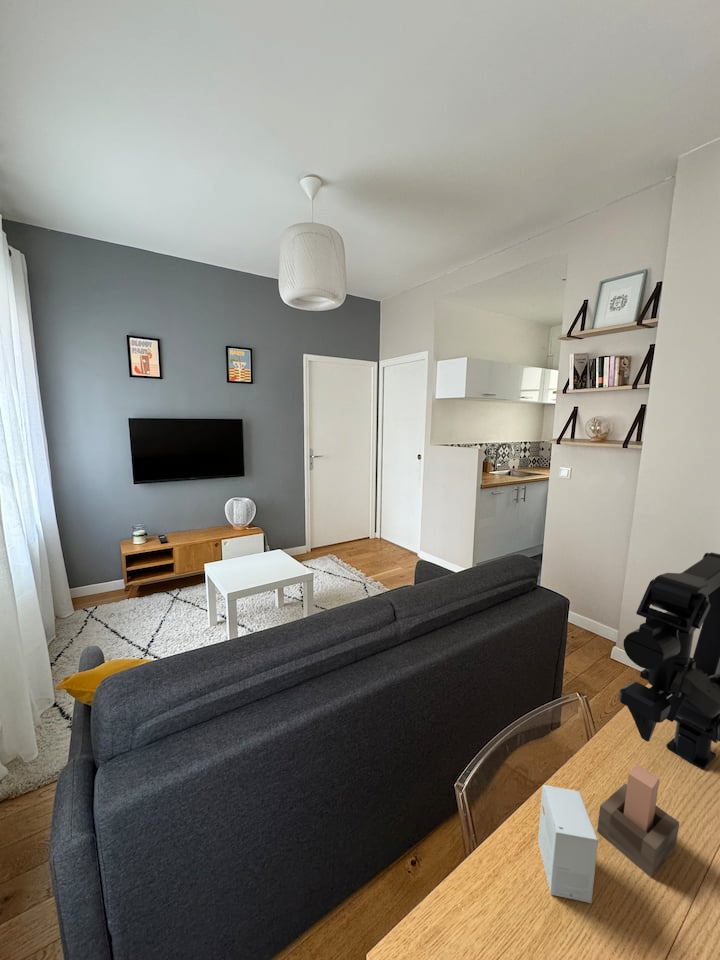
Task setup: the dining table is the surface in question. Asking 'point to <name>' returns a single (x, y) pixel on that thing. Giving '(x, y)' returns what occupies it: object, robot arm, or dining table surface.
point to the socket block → (638, 833)
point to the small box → (567, 844)
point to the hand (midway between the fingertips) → (657, 729)
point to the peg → (641, 797)
